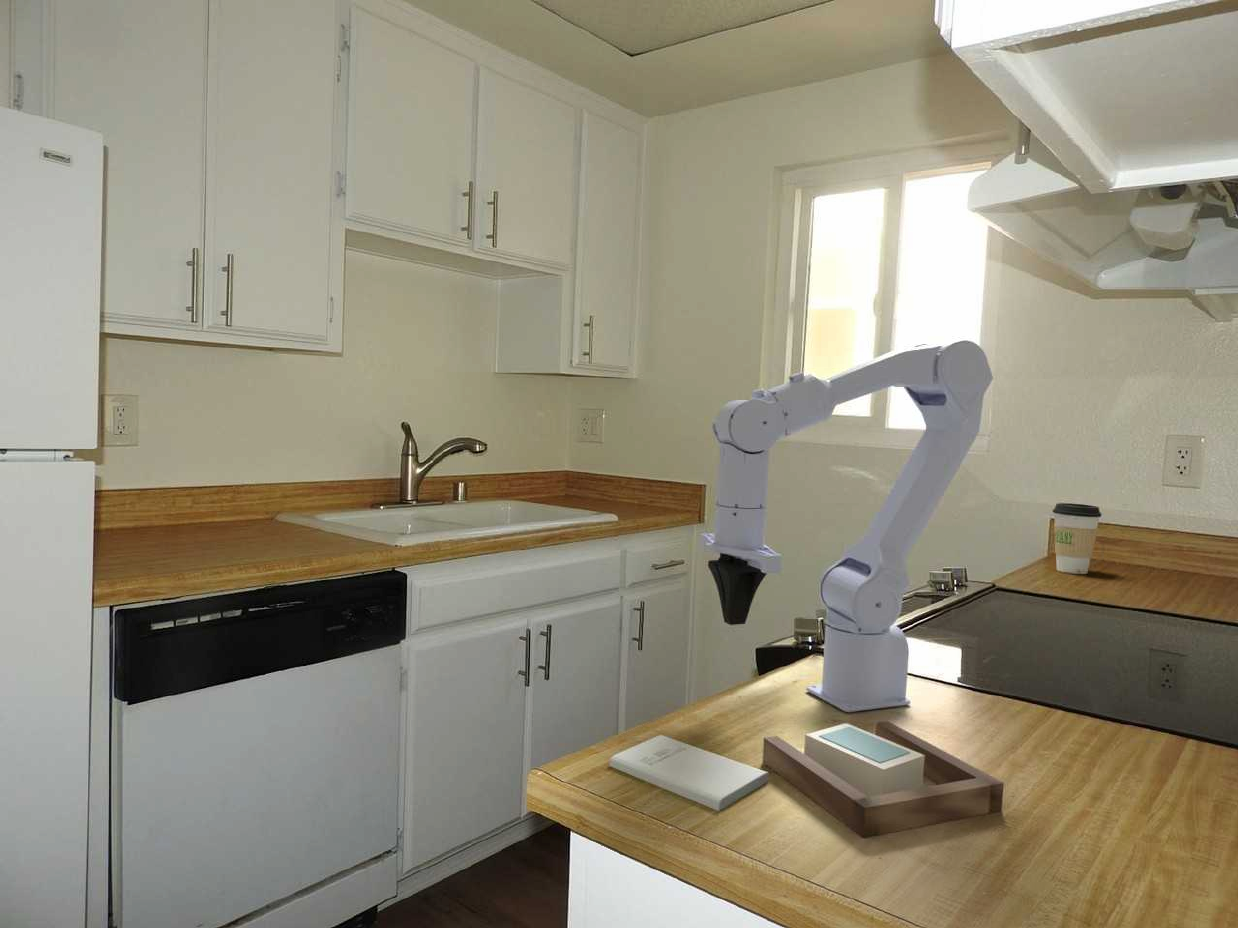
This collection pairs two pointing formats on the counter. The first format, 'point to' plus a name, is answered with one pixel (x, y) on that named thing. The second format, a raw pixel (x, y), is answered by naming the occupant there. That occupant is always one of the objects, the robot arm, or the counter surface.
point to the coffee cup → (1075, 536)
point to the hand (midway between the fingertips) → (734, 622)
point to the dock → (870, 816)
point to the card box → (865, 760)
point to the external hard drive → (690, 771)
